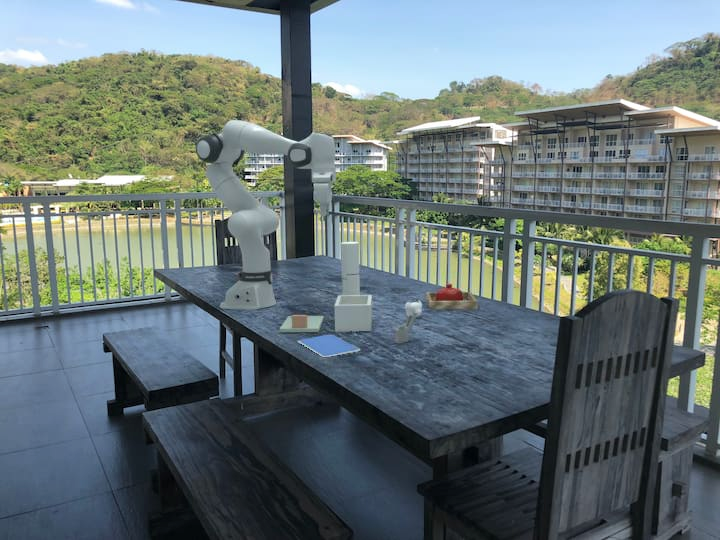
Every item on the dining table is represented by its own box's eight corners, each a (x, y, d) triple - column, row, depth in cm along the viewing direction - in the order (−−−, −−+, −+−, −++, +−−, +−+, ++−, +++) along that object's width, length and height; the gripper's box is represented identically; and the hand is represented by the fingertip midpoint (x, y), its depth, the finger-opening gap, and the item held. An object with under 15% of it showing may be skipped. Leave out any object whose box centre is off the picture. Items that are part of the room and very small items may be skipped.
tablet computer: (361, 353, 162) (361, 348, 162) (323, 360, 156) (323, 356, 156) (332, 337, 179) (331, 333, 179) (296, 343, 173) (296, 339, 173)
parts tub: (335, 331, 183) (334, 305, 182) (339, 319, 199) (338, 295, 197) (371, 331, 183) (370, 305, 181) (372, 319, 198) (371, 294, 197)
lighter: (398, 343, 169) (397, 318, 167) (394, 342, 170) (394, 317, 169) (416, 339, 173) (416, 315, 171) (412, 338, 174) (412, 313, 173)
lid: (279, 334, 183) (278, 317, 182) (288, 320, 200) (287, 305, 199) (318, 333, 182) (318, 316, 181) (324, 320, 199) (323, 305, 198)
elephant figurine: (412, 320, 196) (412, 304, 195) (399, 316, 202) (399, 300, 201) (427, 317, 199) (427, 301, 198) (414, 313, 206) (413, 297, 205)
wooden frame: (429, 309, 212) (429, 301, 211) (426, 299, 229) (426, 292, 228) (477, 308, 211) (477, 301, 210) (470, 298, 228) (470, 291, 227)
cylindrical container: (358, 306, 219) (356, 243, 215) (340, 305, 221) (339, 243, 217) (361, 302, 226) (360, 241, 222) (344, 301, 228) (343, 241, 223)
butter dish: (429, 305, 219) (429, 284, 218) (443, 300, 228) (444, 280, 226) (454, 309, 212) (454, 287, 211) (468, 303, 221) (469, 282, 219)
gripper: (318, 177, 211) (319, 213, 213) (311, 177, 191) (313, 217, 193) (334, 177, 211) (335, 213, 213) (329, 177, 191) (330, 217, 193)
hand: (325, 215), depth 203 cm, fingers open, 8 cm apart
